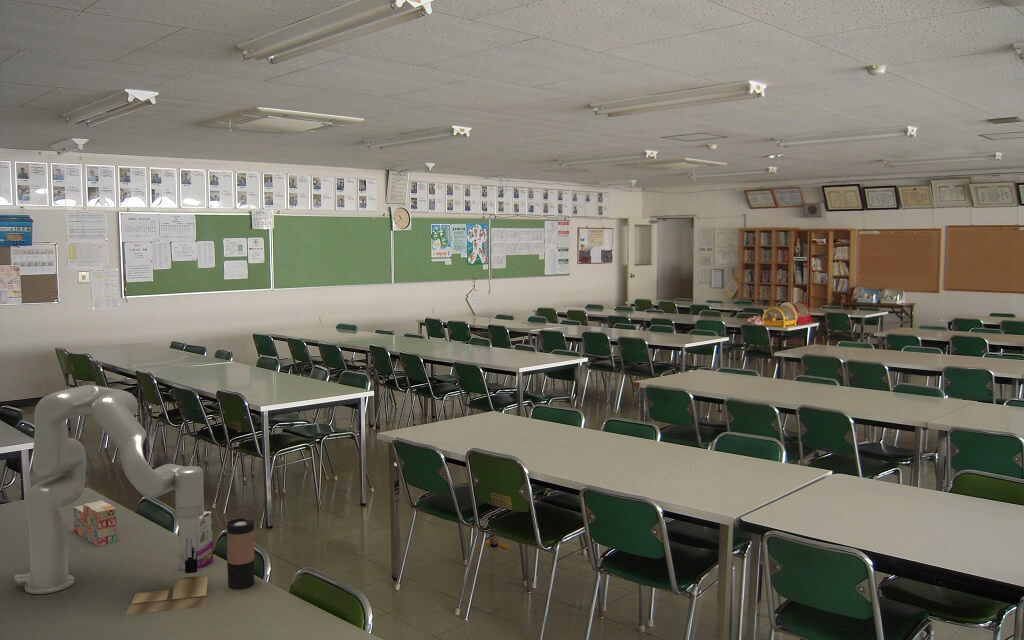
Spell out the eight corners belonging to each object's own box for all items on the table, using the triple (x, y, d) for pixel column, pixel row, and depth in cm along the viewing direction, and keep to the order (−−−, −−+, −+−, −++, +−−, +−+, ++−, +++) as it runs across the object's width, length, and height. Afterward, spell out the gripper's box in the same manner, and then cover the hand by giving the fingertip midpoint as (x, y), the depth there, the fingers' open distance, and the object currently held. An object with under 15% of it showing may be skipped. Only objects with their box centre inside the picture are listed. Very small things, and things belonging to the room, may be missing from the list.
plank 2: (172, 601, 221) (172, 598, 220) (174, 581, 227) (174, 578, 226) (206, 598, 224) (206, 595, 223) (207, 578, 229) (207, 575, 229)
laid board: (125, 619, 210) (125, 614, 210) (130, 608, 217) (130, 603, 217) (205, 610, 216) (205, 605, 216) (207, 599, 223) (207, 595, 223)
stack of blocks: (73, 532, 277) (73, 498, 276) (92, 528, 282) (91, 494, 281) (97, 547, 263) (96, 511, 262) (117, 542, 268) (116, 507, 267)
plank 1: (131, 607, 217) (131, 603, 217) (135, 597, 224) (135, 593, 224) (166, 603, 220) (166, 599, 220) (169, 593, 227) (169, 589, 227)
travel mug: (229, 595, 226) (228, 527, 225) (225, 585, 233) (224, 520, 231) (256, 590, 230) (256, 524, 228) (252, 581, 236) (251, 516, 235)
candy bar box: (199, 559, 253) (198, 510, 252) (213, 561, 252) (213, 511, 251) (178, 573, 242) (177, 521, 241) (192, 574, 241) (192, 522, 240)
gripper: (178, 503, 231) (180, 564, 233) (172, 519, 217) (174, 583, 218) (205, 501, 234) (207, 561, 235) (201, 516, 219) (203, 580, 221)
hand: (191, 571), depth 227 cm, fingers closed
